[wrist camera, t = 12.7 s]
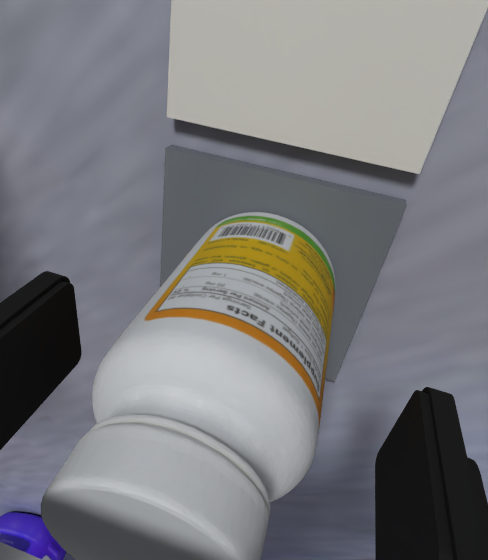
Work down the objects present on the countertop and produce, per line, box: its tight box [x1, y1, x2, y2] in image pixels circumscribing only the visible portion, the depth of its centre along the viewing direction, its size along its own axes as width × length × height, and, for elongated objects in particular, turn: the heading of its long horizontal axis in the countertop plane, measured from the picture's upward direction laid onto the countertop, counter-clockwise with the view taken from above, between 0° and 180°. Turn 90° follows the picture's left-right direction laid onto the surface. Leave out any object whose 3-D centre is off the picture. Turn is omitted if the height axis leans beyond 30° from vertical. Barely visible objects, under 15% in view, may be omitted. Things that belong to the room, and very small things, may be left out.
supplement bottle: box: [41, 212, 335, 560], centre depth 11 cm, size 5×5×10 cm
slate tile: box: [160, 145, 407, 382], centre depth 15 cm, size 8×8×1 cm
